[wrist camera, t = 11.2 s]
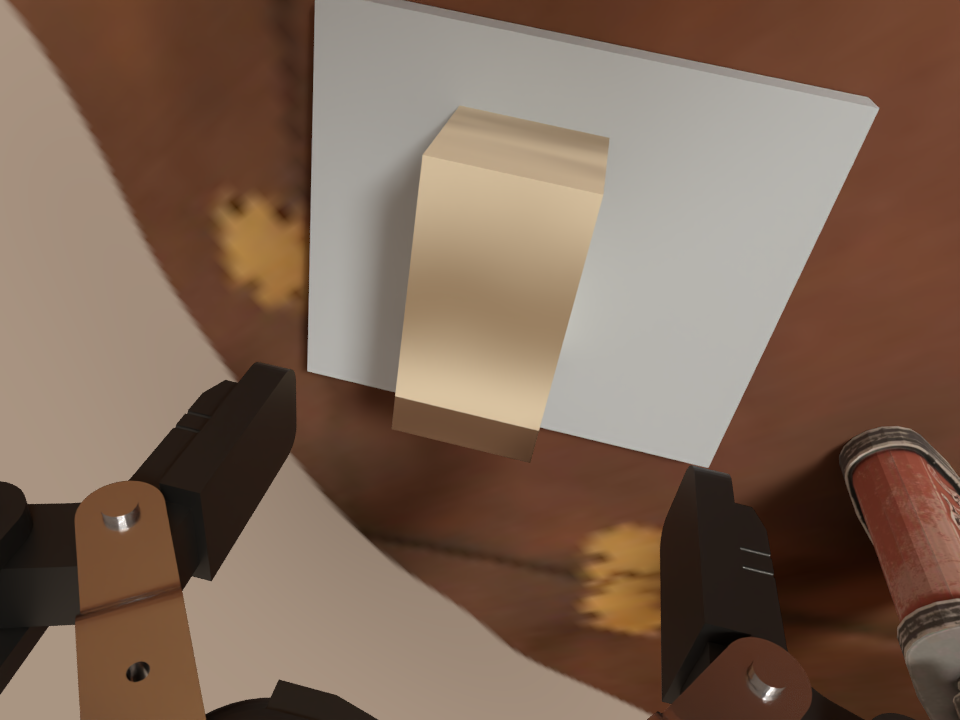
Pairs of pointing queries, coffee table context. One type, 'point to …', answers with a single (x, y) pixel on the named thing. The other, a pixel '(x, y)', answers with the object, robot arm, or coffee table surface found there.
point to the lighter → (914, 551)
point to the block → (494, 277)
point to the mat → (621, 219)
